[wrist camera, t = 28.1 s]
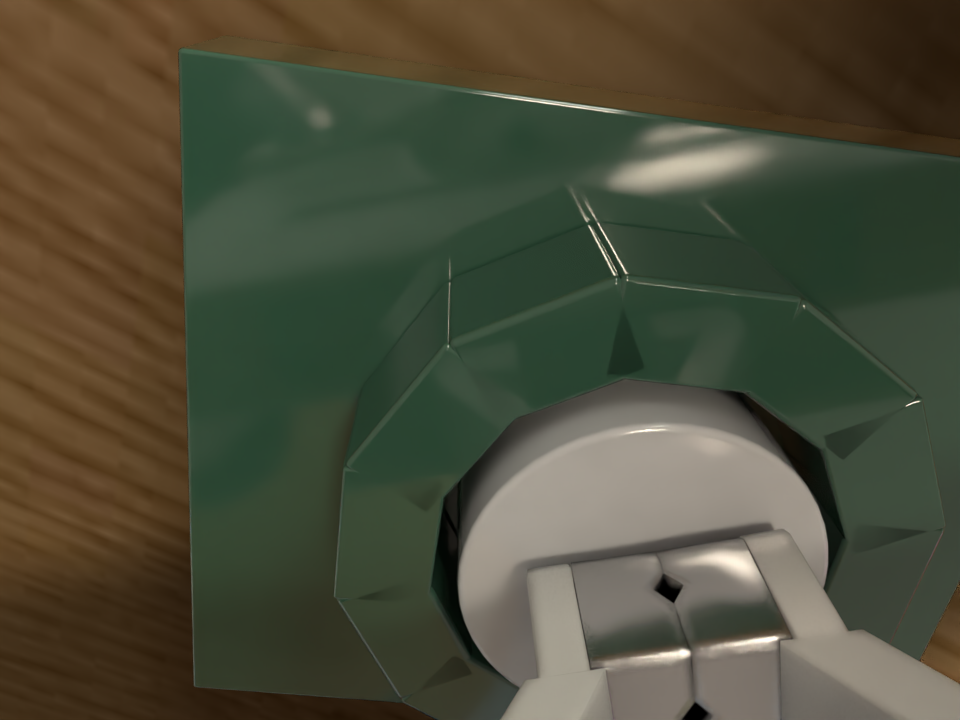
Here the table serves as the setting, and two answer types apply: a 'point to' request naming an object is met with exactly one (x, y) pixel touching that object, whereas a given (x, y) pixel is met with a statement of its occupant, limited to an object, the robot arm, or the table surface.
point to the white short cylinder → (616, 497)
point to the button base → (530, 339)
